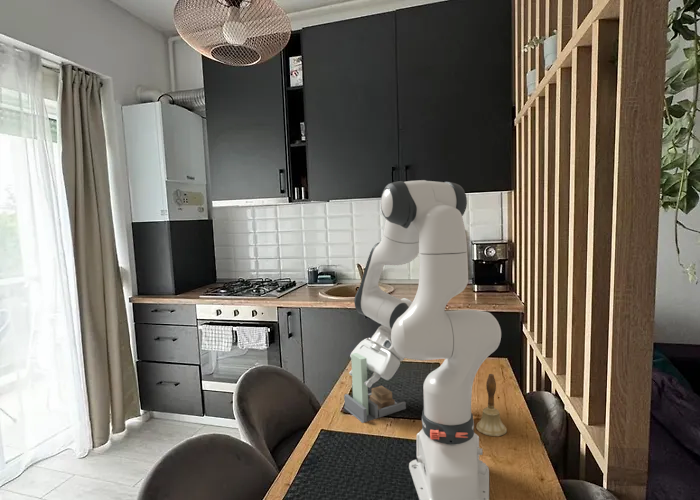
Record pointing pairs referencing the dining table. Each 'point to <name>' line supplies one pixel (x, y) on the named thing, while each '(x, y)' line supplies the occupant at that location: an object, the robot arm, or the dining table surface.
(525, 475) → the dining table surface
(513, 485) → the dining table surface
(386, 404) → the bottom offcut
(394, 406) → the charcoal rack
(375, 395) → the top offcut
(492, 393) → the hand bell
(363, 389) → the sage panel
